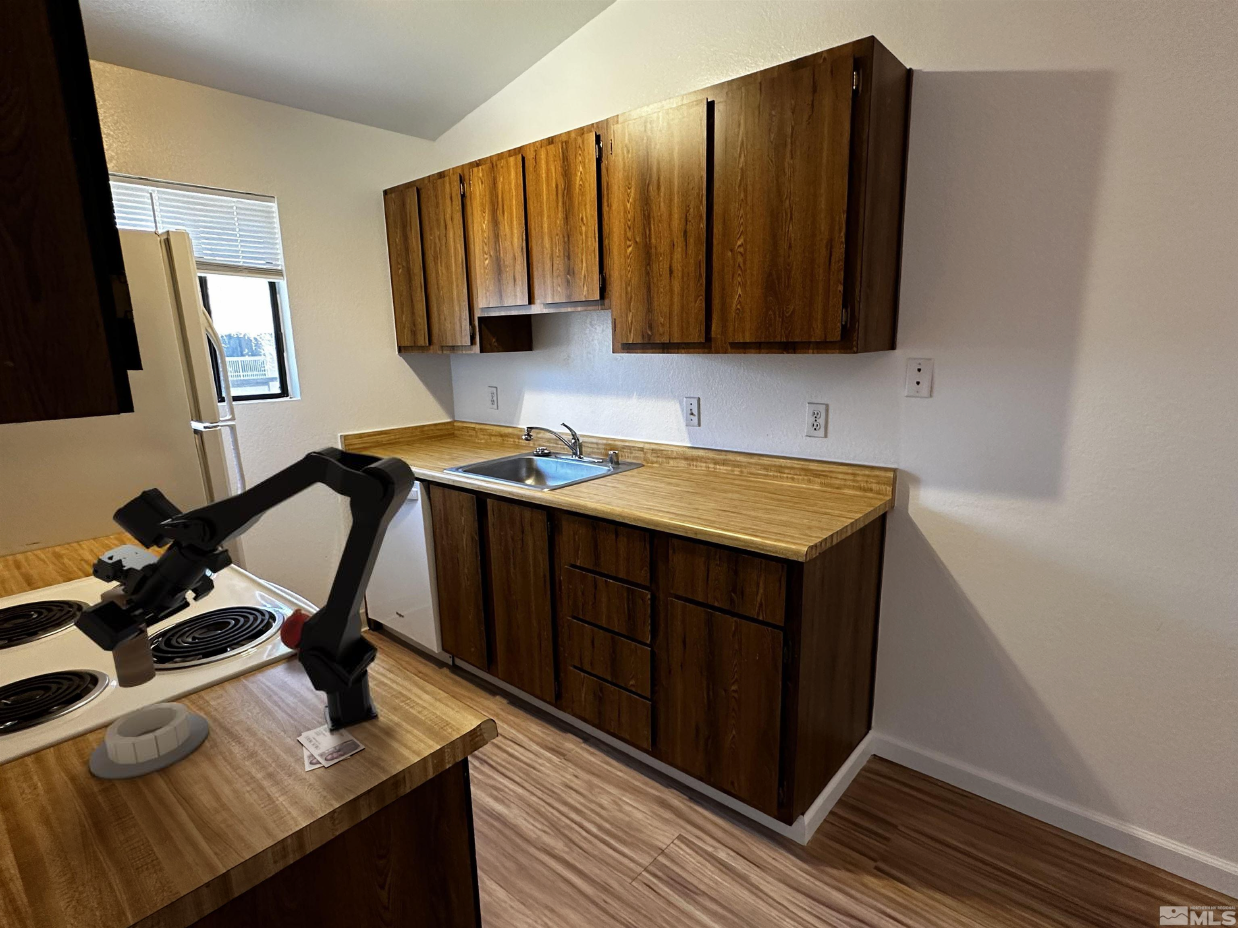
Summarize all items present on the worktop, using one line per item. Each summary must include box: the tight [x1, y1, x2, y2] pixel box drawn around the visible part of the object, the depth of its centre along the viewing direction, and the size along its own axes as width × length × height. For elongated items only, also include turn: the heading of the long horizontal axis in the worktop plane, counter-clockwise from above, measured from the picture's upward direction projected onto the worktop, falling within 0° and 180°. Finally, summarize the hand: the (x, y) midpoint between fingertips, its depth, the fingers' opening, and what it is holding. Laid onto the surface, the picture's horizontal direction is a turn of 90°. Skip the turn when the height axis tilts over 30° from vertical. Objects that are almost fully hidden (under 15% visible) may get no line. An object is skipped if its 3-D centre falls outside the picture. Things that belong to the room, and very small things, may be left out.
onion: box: [279, 607, 312, 652], centre depth 109 cm, size 6×6×8 cm
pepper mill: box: [100, 585, 157, 689], centre depth 92 cm, size 4×4×14 cm
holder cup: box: [88, 701, 210, 780], centre depth 85 cm, size 13×13×4 cm
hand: (120, 638), depth 92 cm, fingers closed on pepper mill, 4 cm apart
